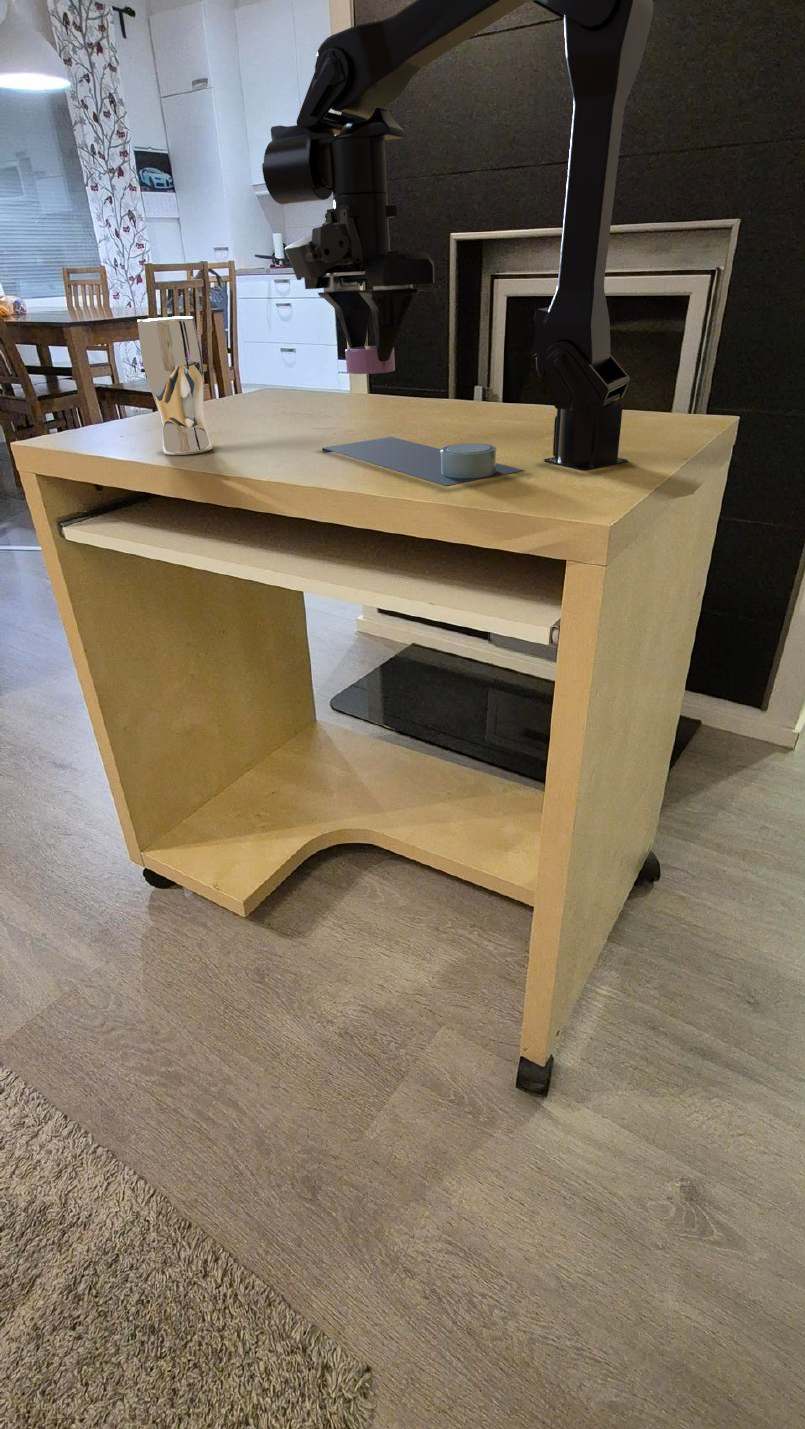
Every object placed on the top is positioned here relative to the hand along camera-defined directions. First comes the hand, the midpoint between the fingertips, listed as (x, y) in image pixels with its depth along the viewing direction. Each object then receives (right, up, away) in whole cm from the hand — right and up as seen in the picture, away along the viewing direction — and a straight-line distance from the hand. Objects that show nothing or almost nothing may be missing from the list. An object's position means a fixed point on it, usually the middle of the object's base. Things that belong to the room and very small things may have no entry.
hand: (370, 359), depth 88 cm
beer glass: (-24, -7, +10) cm, 27 cm away
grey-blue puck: (+10, -16, -9) cm, 21 cm away
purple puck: (0, -1, +1) cm, 1 cm away
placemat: (+5, -12, -1) cm, 13 cm away
